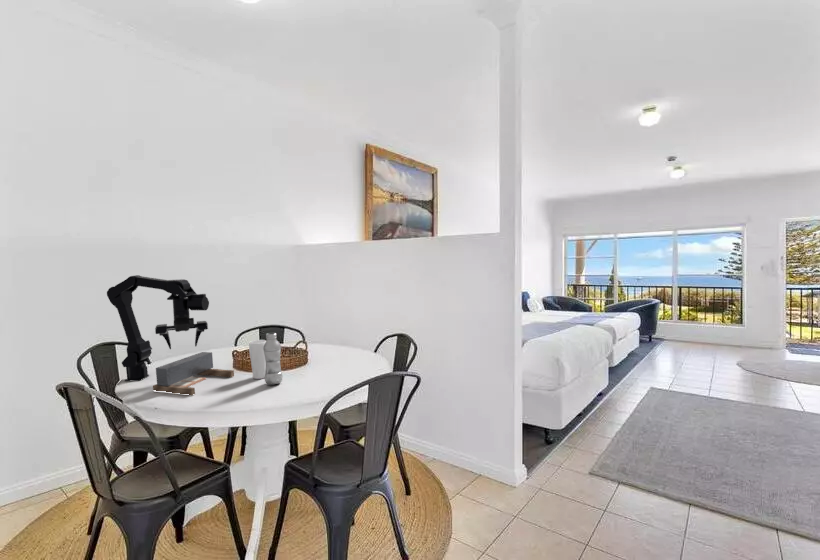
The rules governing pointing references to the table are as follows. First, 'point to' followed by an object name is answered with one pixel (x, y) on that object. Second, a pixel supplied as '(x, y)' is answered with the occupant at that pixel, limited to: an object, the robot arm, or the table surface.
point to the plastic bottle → (272, 360)
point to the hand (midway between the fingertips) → (183, 347)
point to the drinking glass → (257, 358)
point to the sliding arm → (184, 368)
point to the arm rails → (189, 389)
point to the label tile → (188, 381)
